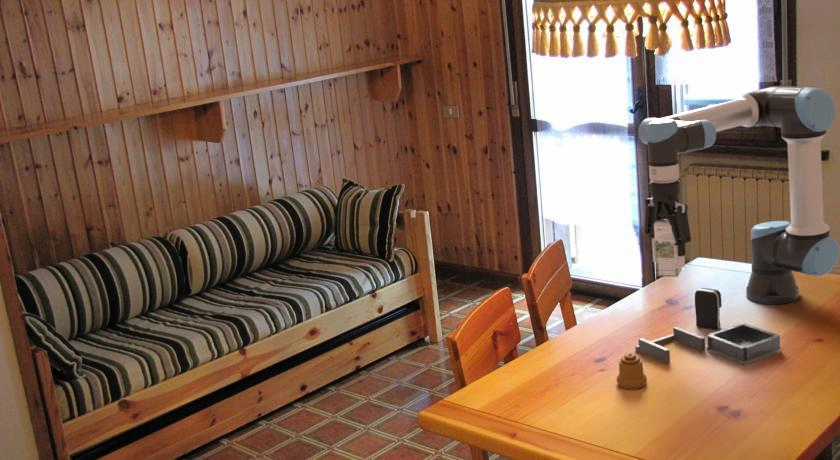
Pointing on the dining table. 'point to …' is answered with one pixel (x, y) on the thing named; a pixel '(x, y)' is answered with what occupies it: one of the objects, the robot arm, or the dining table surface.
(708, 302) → the black rounded block
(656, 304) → the dining table surface
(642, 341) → the grey u-shaped bracket
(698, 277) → the dining table surface
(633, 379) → the ornamental finial
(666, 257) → the syrup box
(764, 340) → the square tray
